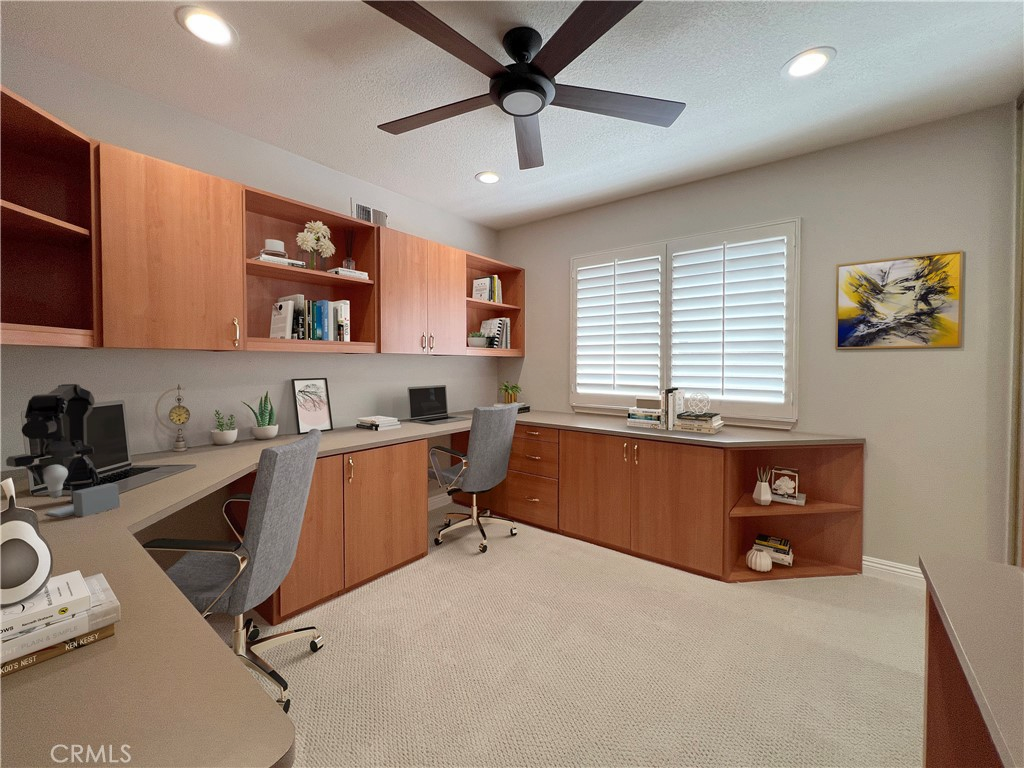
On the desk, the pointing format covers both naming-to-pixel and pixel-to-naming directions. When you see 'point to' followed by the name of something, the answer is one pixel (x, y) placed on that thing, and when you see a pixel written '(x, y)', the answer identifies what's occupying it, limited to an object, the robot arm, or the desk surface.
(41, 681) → the desk surface
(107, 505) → the blue-grey rectangular block
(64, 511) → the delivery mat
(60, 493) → the lightbulb
